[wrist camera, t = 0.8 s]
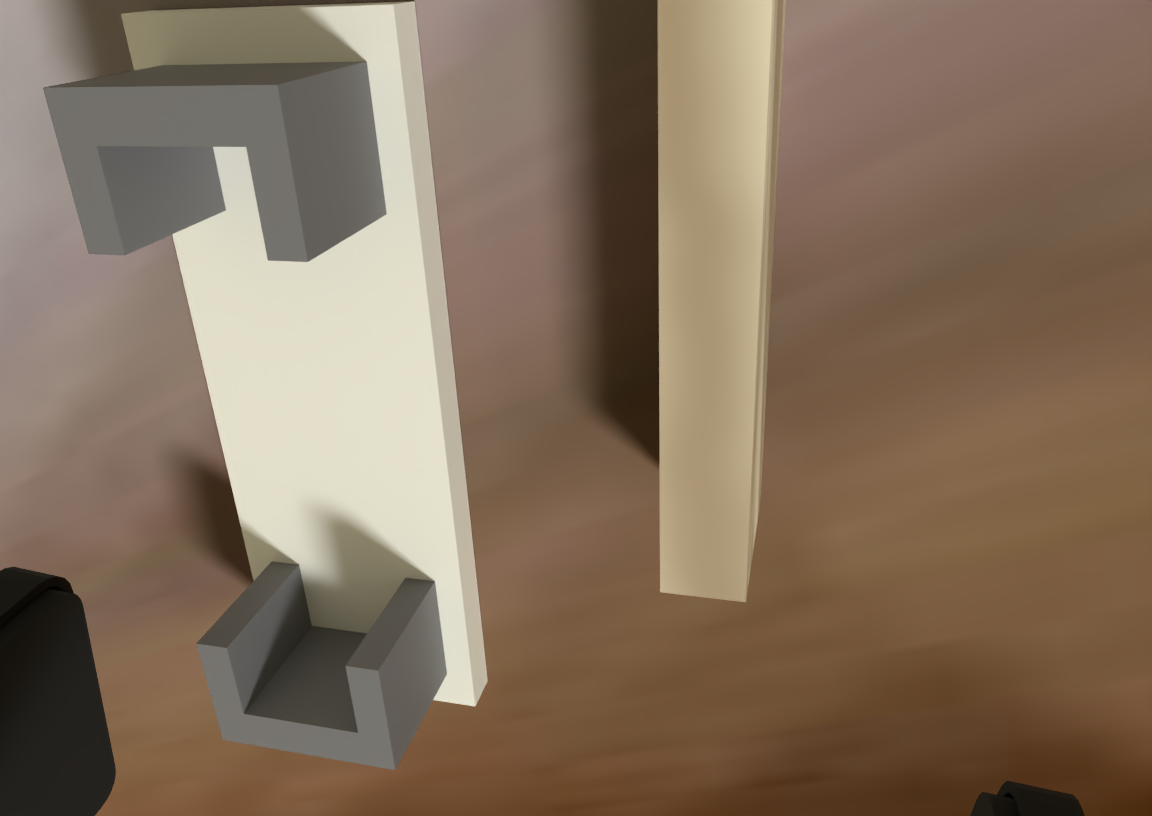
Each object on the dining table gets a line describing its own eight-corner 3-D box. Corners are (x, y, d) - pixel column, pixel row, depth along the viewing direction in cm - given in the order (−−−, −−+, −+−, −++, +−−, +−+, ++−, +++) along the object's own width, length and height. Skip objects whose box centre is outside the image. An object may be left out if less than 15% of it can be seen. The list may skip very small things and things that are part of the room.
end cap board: (414, 1, 28) (305, 17, 22) (487, 680, 39) (427, 805, 34) (152, 10, 30) (-8, 27, 24) (293, 652, 41) (206, 765, 36)
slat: (790, -96, 25) (777, -106, 19) (761, 495, 32) (745, 602, 27) (695, -91, 25) (657, -98, 20) (688, 488, 33) (660, 592, 28)
